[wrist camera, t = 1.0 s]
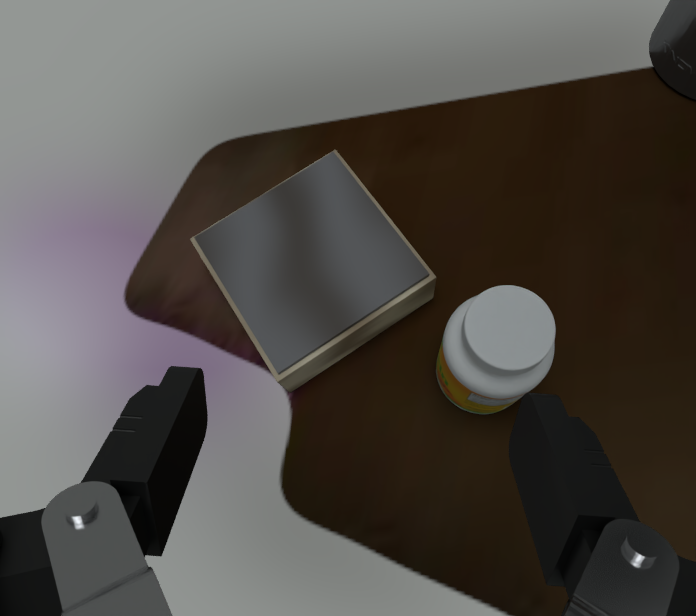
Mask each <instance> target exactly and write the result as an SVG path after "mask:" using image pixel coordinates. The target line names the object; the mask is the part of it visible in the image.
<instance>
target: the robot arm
mask: <svg viewBox="0 0 696 616" xmlns="http://www.w3.org/2000/svg"><path fill="white" fill-rule="evenodd" d="M649 53H650V58H651V61H652V64H653V66H654V68H655V69H656V71H657V73H658V74H659V76H660V77H661V78H662V79H663V80H664V81H665V82H666V83H667V84H668V85H669V86H671V87H672V88H674V89H675V90H676V91H678V92H679V93H682V94H684V95H686V96H688V97H690V98H692V99H695V100H696V0H670V2H669V3H668V5H667V7H666V9H665V11H664V13H663V15H662V16H661V18H660V20H659V22H658V24H657V26H656V27H655V29H654V31H653V33H652V36H651V39H650V43H649ZM206 429H207V405H206V394H205V385H204V375H203V371H202V369H201V368H190V367H176V366H171V367H169V369H168V370H167V372H166V374H165V376H164V378H163V380H162V382H161V383H160V385H159V386H151V385H146V386H145V387H144V388H142V389H141V390H140V391H139V392H137V393H136V394H135V395H134V396H132V397H131V398H130V399H129V401H128V403H127V404H126V406H125V408H124V410H123V411H122V413H121V415H120V418H118V420H117V422H116V423H115V425H114V427H113V431H112V432H110V434H109V435H108V437H107V439H106V440H105V442H104V444H103V446H102V447H101V449H100V451H99V452H98V454H97V456H96V458H95V459H94V461H93V463H92V464H91V466H90V468H89V470H88V471H87V473H86V475H85V477H84V478H83V480H82V481H81V483H79V484H77V485H74V486H71V487H69V488H67V489H65V490H64V491H62V492H61V493H59V494H58V495H57V496H55V497H54V498H53V499H52V500H51V501H50V503H49V504H48V505H47V507H46V508H44V509H41V510H37V511H33V512H28V513H23V514H17V515H12V516H7V517H2V518H0V616H172V614H171V611H170V609H169V606H168V604H167V602H166V599H165V597H164V595H163V592H162V590H161V587H160V585H159V582H158V580H157V578H156V575H155V573H154V571H153V569H152V568H151V567H148V565H147V563H146V560H145V555H151V556H162V553H163V551H164V548H165V545H166V542H167V540H168V537H169V534H170V532H171V529H172V526H173V523H174V520H175V518H176V515H177V512H178V509H179V507H180V504H181V501H182V499H183V496H184V493H185V490H186V488H187V485H188V482H189V480H190V477H191V474H192V471H193V468H194V466H195V463H196V460H197V457H198V455H199V452H200V449H201V447H202V444H203V441H204V438H205V434H206ZM509 458H510V463H511V466H512V470H513V473H514V476H515V480H516V483H517V486H518V490H519V493H520V497H521V500H522V503H523V507H524V510H525V513H526V517H527V520H528V523H529V527H530V530H531V533H532V537H533V540H534V544H535V547H536V550H537V554H538V557H539V560H540V564H541V567H542V570H543V574H544V577H545V580H546V584H547V585H551V586H565V587H566V591H567V594H568V597H569V600H568V602H567V604H566V606H565V608H564V610H563V612H562V615H561V616H696V562H693V561H690V560H687V559H685V558H682V557H680V556H678V555H676V553H675V551H674V549H673V548H672V546H671V545H670V544H669V543H668V541H667V540H666V539H665V538H664V537H663V536H662V535H660V534H659V533H658V532H656V531H655V530H654V529H652V528H650V527H649V526H647V525H645V524H643V523H640V521H639V519H638V517H637V515H636V513H635V511H634V509H633V507H632V505H631V503H630V501H629V499H628V497H627V495H626V493H625V491H624V489H623V488H622V486H621V484H620V482H619V480H618V478H617V476H616V474H615V472H614V470H613V469H611V464H610V462H609V460H608V458H607V456H606V454H604V450H603V448H602V446H601V444H600V442H599V440H598V438H597V436H596V434H595V433H594V432H593V431H592V430H591V429H590V428H589V427H588V426H587V425H586V424H585V423H584V422H583V421H582V420H581V419H580V418H579V417H569V416H568V414H567V412H566V410H565V408H564V406H563V403H562V401H561V399H560V398H559V396H557V395H551V394H537V393H525V394H524V396H523V398H522V400H521V404H520V407H519V410H518V413H517V417H516V420H515V423H514V426H513V430H512V433H511V436H510V441H509Z"/></svg>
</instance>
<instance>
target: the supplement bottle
mask: <svg viewBox="0 0 696 616" xmlns="http://www.w3.org/2000/svg"><path fill="white" fill-rule="evenodd" d="M555 332H556V329H555V322H554V318H553V315H552V313H551V311H550V309H549V307H548V306H547V305H546V303H545V302H544V301H543V300H542V299H541V298H540V297H539V296H537V295H536V294H535V293H533V292H531V291H529V290H527V289H525V288H522V287H518V286H512V285H503V286H496V287H493V288H490V289H488V290H486V291H484V292H482V293H481V294H479V295H477V296H475V297H473V298H470V299H468V300H467V301H465V302H464V303H463V304H461V305H460V306H459V307H458V308H457V309H456V310H455V312H454V313H453V314H452V316H451V317H450V319H449V321H448V323H447V326H446V328H445V331H444V335H443V339H442V343H441V347H440V350H439V353H438V357H437V363H436V374H437V380H438V383H439V385H440V387H441V389H442V391H443V393H444V394H445V396H446V397H447V398H448V399H449V400H450V401H451V402H452V403H453V404H455V405H456V406H458V407H459V408H461V409H463V410H465V411H468V412H471V413H477V414H491V413H496V412H499V411H501V410H503V409H505V408H507V407H509V406H510V405H512V404H513V403H515V402H516V401H517V400H518V399H520V398H521V397H522V396H524V394H525V393H528V392H529V391H531V390H532V389H533V388H535V387H536V386H537V385H538V384H539V383H540V382H541V381H542V380H543V378H544V377H545V376H546V374H547V373H548V371H549V369H550V367H551V364H552V361H553V357H554V339H555Z"/></svg>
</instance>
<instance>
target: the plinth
mask: <svg viewBox="0 0 696 616" xmlns="http://www.w3.org/2000/svg"><path fill="white" fill-rule="evenodd" d="M190 240H191V242H192V243H193V245H194V247H195V248H196V250H197V251H198V253H199V255H200V256H201V258H202V260H203V261H204V263H205V265H206V266H207V268H208V269H209V271H210V273H211V274H212V276H213V278H214V279H215V281H216V283H217V284H218V286H219V287H220V289H221V291H222V292H223V294H224V296H225V297H226V299H227V301H228V302H229V304H230V305H231V307H232V309H233V310H234V312H235V314H236V315H237V317H238V319H239V320H240V322H241V323H242V325H243V327H244V328H245V330H246V332H247V333H248V335H249V337H250V338H251V340H252V341H253V343H254V345H255V346H256V348H257V350H258V351H259V353H260V355H261V356H262V358H263V359H264V361H265V363H266V364H267V366H268V368H269V369H270V371H271V373H272V374H273V376H274V377H275V379H276V381H277V382H278V383H279V384H280V385H281V386H283V387H284V388H285V389H286V390H287V391H289V392H290V393H291V392H292V391H294V390H295V389H297V388H298V387H300V386H301V385H303V384H304V383H306V382H307V381H309V380H310V379H312V378H313V377H315V376H316V375H318V374H319V373H321V372H322V371H324V370H325V369H327V368H328V367H330V366H331V365H333V364H334V363H336V362H337V361H339V360H340V359H342V358H343V357H345V356H346V355H348V354H349V353H351V352H352V351H354V350H355V349H357V348H358V347H360V346H361V345H363V344H364V343H366V342H368V341H369V340H371V339H372V338H374V337H375V336H377V335H378V334H380V333H381V332H383V331H384V330H386V329H387V328H389V327H390V326H392V325H393V324H395V323H396V322H398V321H399V320H401V319H402V318H404V317H405V316H407V315H408V314H410V313H411V312H413V311H414V310H416V309H417V308H419V307H420V306H422V305H423V304H425V303H426V302H428V301H429V300H431V299H432V298H433V295H434V289H435V283H436V276H435V275H434V274H433V272H432V271H431V270H430V269H429V267H428V266H427V265H426V264H425V262H424V261H423V260H422V258H421V257H420V256H419V255H418V253H417V252H416V251H415V250H414V248H413V247H412V246H411V245H410V243H409V242H408V241H407V239H406V238H405V237H404V236H403V234H402V233H401V232H400V231H399V229H398V228H397V227H396V226H395V224H394V223H393V222H392V220H391V219H390V218H389V217H388V215H387V214H386V213H385V212H384V210H383V209H382V208H381V207H380V205H379V204H378V203H377V201H376V200H375V199H374V198H373V196H372V195H371V194H370V193H369V191H368V190H367V189H366V188H365V186H364V185H363V184H362V182H361V181H360V180H359V179H358V177H357V176H356V175H355V174H354V172H353V171H352V170H351V169H350V167H349V166H348V165H347V163H346V162H345V161H344V160H343V158H342V157H341V156H340V155H339V153H338V152H337V151H336V150H334V151H332V152H331V153H329V154H327V155H326V156H324V157H323V158H321V159H319V160H318V161H316V162H314V163H313V164H311V165H310V166H308V167H306V168H305V169H303V170H301V171H300V172H298V173H297V174H295V175H293V176H292V177H290V178H289V179H287V180H285V181H284V182H282V183H280V184H279V185H277V186H276V187H274V188H272V189H271V190H269V191H267V192H266V193H264V194H263V195H261V196H259V197H258V198H256V199H254V200H253V201H251V202H250V203H248V204H246V205H245V206H243V207H241V208H240V209H238V210H237V211H235V212H233V213H232V214H230V215H228V216H227V217H225V218H224V219H222V220H220V221H219V222H217V223H215V224H214V225H212V226H211V227H209V228H207V229H206V230H204V231H202V232H201V233H199V234H198V235H196V236H194V237H193V238H191V239H190Z"/></svg>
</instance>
